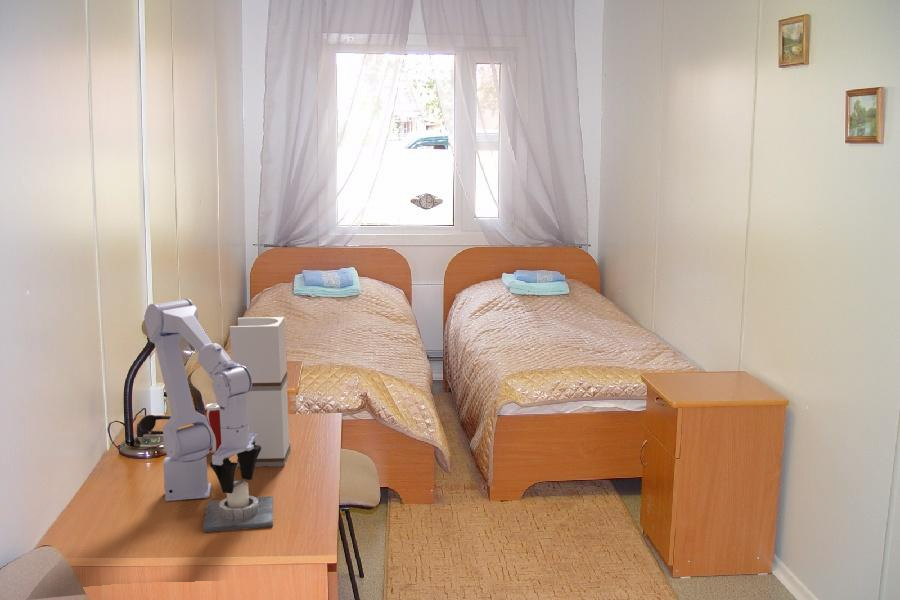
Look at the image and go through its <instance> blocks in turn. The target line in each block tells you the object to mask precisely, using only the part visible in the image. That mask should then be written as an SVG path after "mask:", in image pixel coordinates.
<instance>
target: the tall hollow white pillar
mask: <svg viewBox="0 0 900 600" xmlns="http://www.w3.org/2000/svg"><path fill="white" fill-rule="evenodd" d="M285 318H286V317H285V316H269V317H268V316H264V317H258V316H257V317H256V316H255V317H238V318H237V325H230V326H229V335H230V336H229V337H230V354H231V357H230V358H231V359H232V360H233V362H234V363H237V364H239V365H243V366H245V367H246V368H247V369H248V371H249V372H250V374H251V378H252V388H251V390H250V391H249V392H247V407H248V428H249V433H252V434H257V435H258V443H256V444H255V445H259V446H261V451H260V453H259V455H258V457H257V460H256V463H255V467H254V468H257V467H258V468H260V467H262V466H268V467H285V466H286V464H287V461H288V459H289V456H290V453H291V451H292V450H291V449H292V448H291V442H290V426H289V424H290V422H289V406H288V405H289V403H288V401H289V400H288V399H289V398H288V364H287V345H286V344H287V341H286V340H287V339H286V321H285V320H286V319H285ZM236 463H238V464H237V467H238V466H240V463H239V459H238V456H237V455H236ZM285 463H286V464H285Z"/></svg>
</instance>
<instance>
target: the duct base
mask: <svg viewBox="0 0 900 600" xmlns="http://www.w3.org/2000/svg"><path fill="white" fill-rule="evenodd" d="M273 497H274V496H273V495H270V496H268V495H267V496H257V497H256V496H253V495H249V506H247V507H243V508H228V504H227V497H226V498H224V499H221V500H220V499H218V500H208V501H207V504H206V508H205V515H204V521H203V525H202V526H203V527H202V531H203V534H205V533H213V532H224V531H225V532H226V531H236V530H237V531H239V530H248V529H260V528H272V527H274V498H273Z"/></svg>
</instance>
